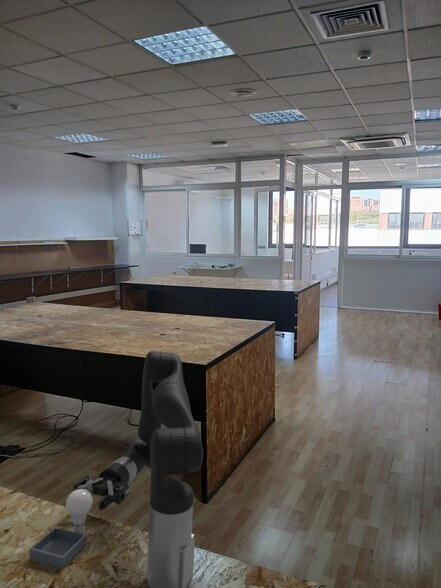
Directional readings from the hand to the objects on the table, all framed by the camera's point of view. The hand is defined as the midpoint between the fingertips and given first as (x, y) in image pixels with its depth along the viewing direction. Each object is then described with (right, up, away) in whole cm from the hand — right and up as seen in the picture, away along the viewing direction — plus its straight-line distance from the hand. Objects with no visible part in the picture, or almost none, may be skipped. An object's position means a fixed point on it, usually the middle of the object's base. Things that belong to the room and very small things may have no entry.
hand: (85, 503), depth 113 cm
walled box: (-3, -7, -9) cm, 12 cm away
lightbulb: (-1, -7, -2) cm, 7 cm away
